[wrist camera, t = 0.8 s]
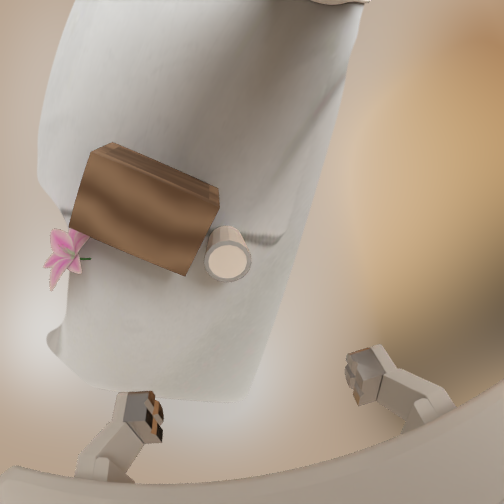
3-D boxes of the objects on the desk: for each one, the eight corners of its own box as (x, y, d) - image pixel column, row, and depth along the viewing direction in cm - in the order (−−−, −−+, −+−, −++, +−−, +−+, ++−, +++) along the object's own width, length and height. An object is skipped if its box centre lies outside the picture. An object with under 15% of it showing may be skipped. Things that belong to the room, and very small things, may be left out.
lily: (117, 218, 47) (80, 215, 37) (114, 289, 48) (77, 298, 38) (68, 216, 49) (31, 213, 39) (65, 279, 50) (29, 285, 40)
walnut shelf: (112, 142, 40) (90, 151, 32) (218, 188, 46) (219, 207, 38) (90, 205, 44) (68, 227, 36) (188, 247, 50) (185, 276, 42)
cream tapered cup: (212, 265, 52) (213, 288, 46) (198, 229, 49) (196, 249, 42) (251, 252, 52) (257, 274, 45) (239, 216, 48) (243, 234, 42)
